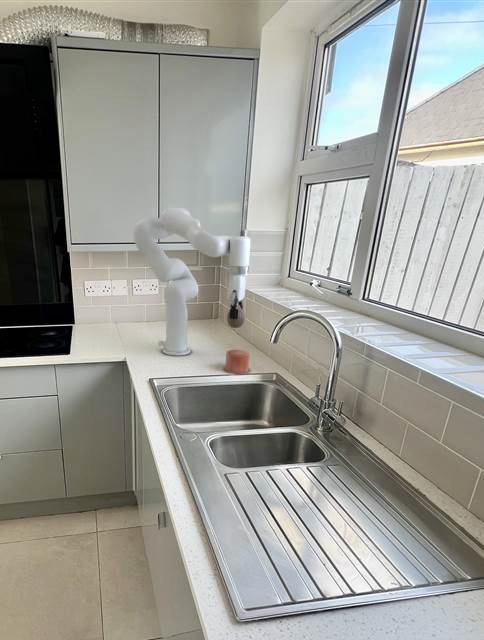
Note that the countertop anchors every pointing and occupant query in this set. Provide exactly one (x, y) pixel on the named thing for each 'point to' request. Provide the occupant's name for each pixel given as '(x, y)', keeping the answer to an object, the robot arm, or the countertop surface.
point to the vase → (236, 322)
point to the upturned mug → (237, 361)
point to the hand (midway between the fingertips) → (235, 316)
